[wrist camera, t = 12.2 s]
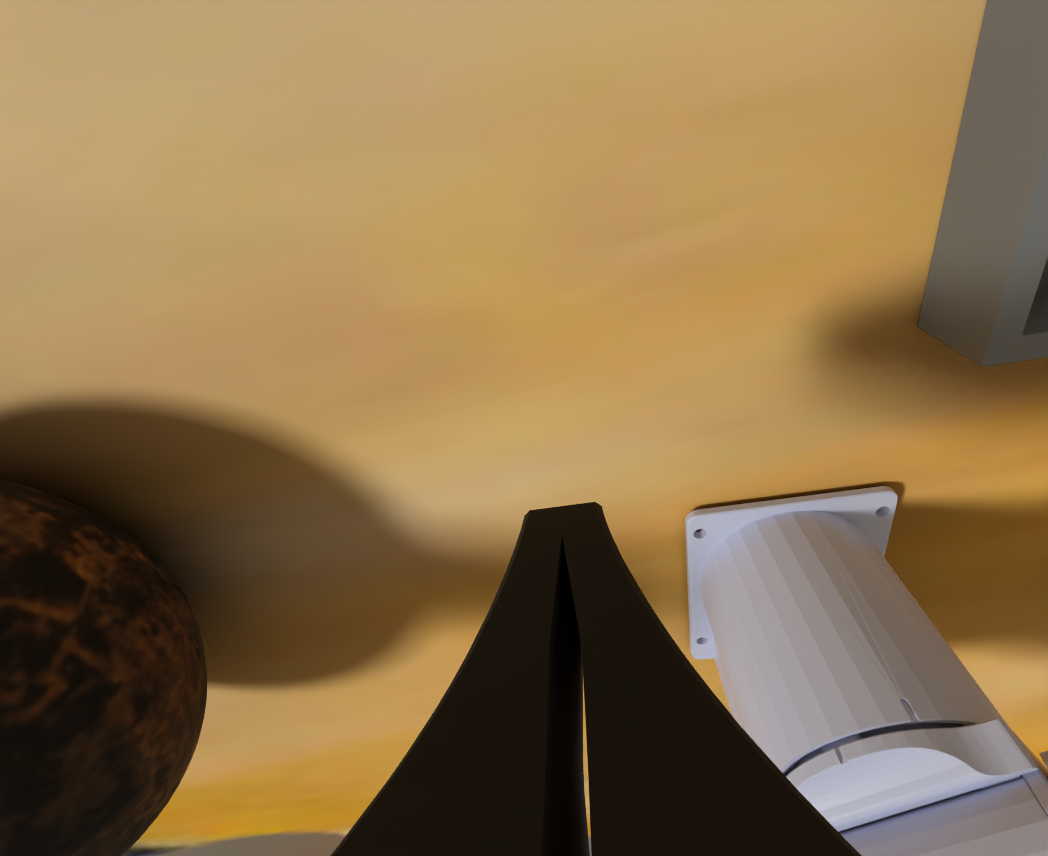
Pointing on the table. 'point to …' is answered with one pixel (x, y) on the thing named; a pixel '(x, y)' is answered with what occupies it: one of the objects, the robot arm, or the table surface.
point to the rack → (997, 199)
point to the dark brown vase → (89, 681)
